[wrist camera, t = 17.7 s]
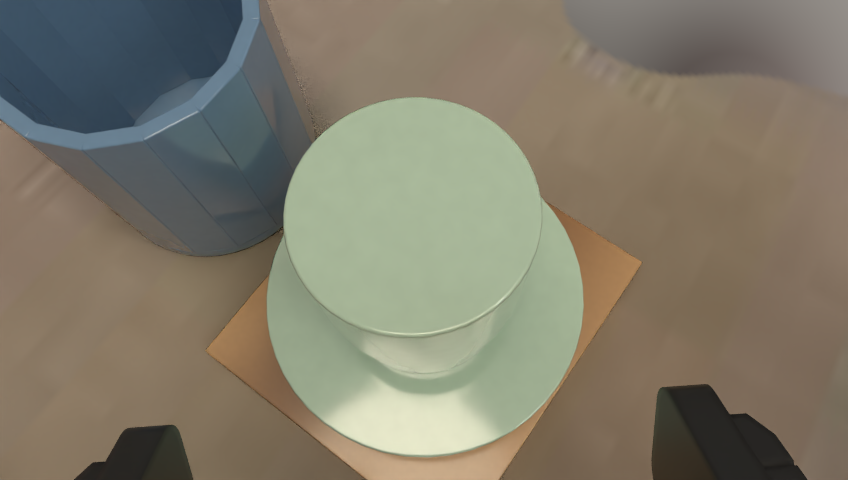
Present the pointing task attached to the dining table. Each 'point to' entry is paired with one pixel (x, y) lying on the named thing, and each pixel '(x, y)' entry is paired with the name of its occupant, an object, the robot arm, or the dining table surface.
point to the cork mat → (406, 476)
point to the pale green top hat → (421, 281)
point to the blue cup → (161, 111)
